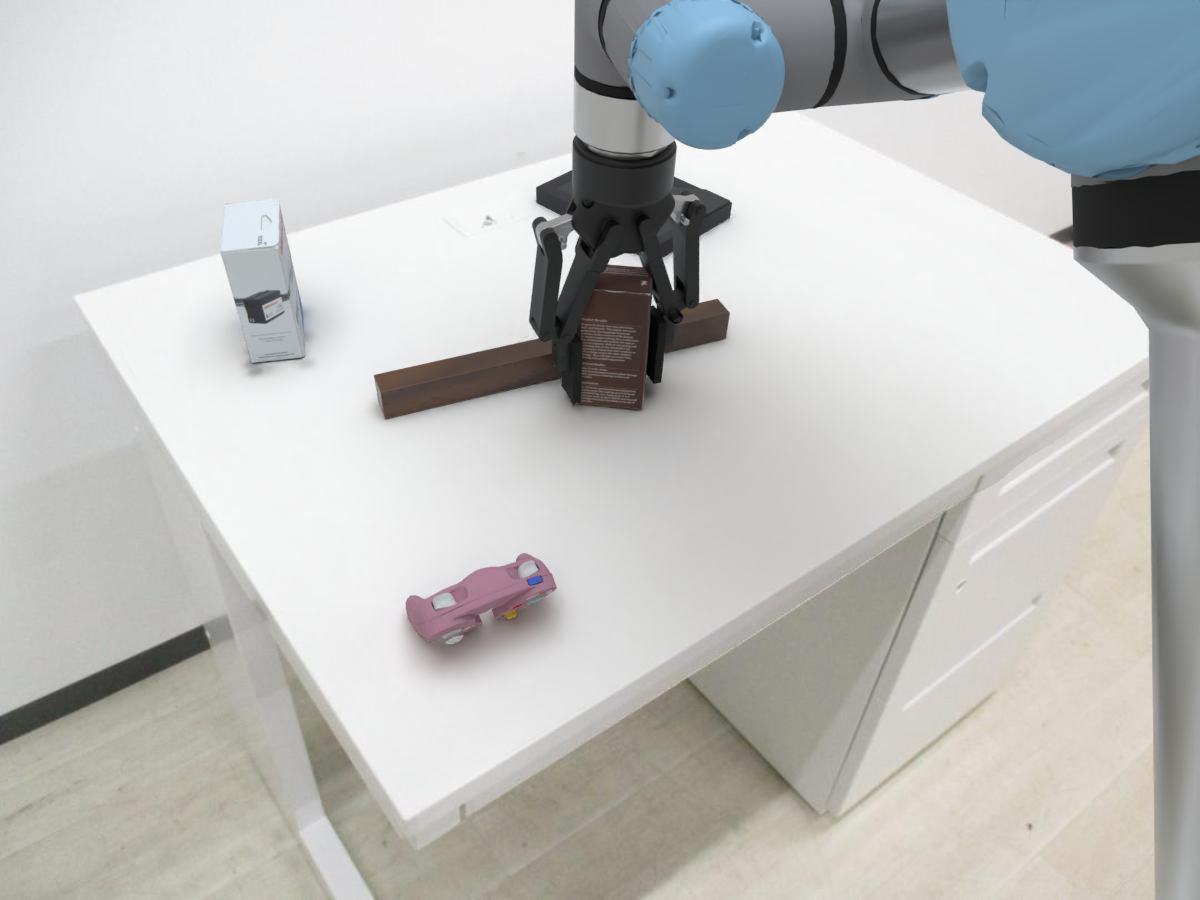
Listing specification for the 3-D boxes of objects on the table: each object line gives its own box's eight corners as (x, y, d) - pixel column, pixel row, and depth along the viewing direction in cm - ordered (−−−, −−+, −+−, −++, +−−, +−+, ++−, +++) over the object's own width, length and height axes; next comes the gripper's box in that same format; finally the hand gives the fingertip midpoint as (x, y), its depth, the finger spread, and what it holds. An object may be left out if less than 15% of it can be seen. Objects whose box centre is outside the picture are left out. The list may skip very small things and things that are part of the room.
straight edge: (726, 338, 91) (730, 312, 89) (384, 419, 81) (380, 392, 79) (714, 324, 92) (717, 298, 90) (378, 401, 82) (373, 374, 80)
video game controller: (422, 665, 65) (430, 646, 59) (398, 604, 66) (404, 579, 60) (551, 612, 68) (572, 589, 62) (527, 555, 70) (545, 527, 63)
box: (646, 379, 86) (656, 265, 77) (642, 412, 82) (651, 296, 74) (580, 373, 86) (583, 258, 78) (573, 405, 83) (575, 289, 75)
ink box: (251, 311, 91) (222, 200, 83) (304, 305, 92) (280, 195, 84) (248, 365, 85) (217, 251, 77) (305, 358, 86) (279, 246, 78)
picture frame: (730, 217, 107) (613, 164, 116) (732, 199, 106) (614, 146, 114) (654, 263, 100) (535, 202, 108) (655, 244, 98) (535, 184, 107)
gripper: (723, 97, 73) (693, 336, 89) (475, 134, 67) (490, 383, 83) (772, 138, 68) (731, 384, 84) (509, 182, 62) (518, 438, 78)
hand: (611, 383), depth 84 cm, fingers closed on box, 7 cm apart
